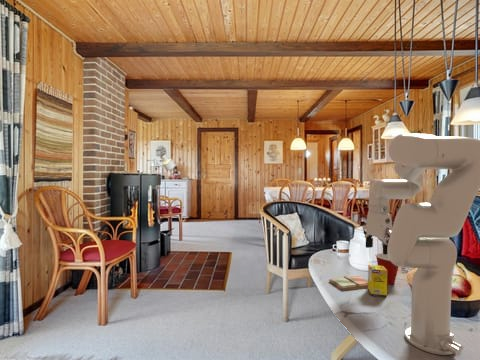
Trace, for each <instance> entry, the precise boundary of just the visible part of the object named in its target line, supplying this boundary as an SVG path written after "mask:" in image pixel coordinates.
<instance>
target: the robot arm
mask: <svg viewBox="0 0 480 360" xmlns="http://www.w3.org/2000/svg"><path fill="white" fill-rule="evenodd" d="M388 156H389V158H390V160H392V161H393V162H394V165H393V168H394V171H395V174H397V175H398V177H400V178H401V179H393V178H392V179H387V178H385V179H384V178H383V179H382V178H380V179H379V178H374V179H371V180H370V181H369V183H368V184H369V186H368V189H369V191H368V212H367V216H366V224H365V225H362V230H363V234H364V238H365V248H373V247H374V238H377V239H381V240H382V242H383V244H382V254H384V255H385V254H388V257H389V259H390V261H391V262H392V263H393V264H394V265H396V266H398V268H403V269H404V268H405V269H416V270H415V272H414V274H413V276H412V280H411V308H410V309H411V310H410V311H411V312H410V315H411V316H410V327H408V328H406V329H405V330H404V337H405V339H406V340H407V342H409V343H410V344H411V345H412V346H413V347H416V348H418V349H420V350H421V351H425V352H427V353H430V354H434V355H440V356H450V355H455V356H457V357H459V356H460V355H461V354H462V351H463V349H464V346H463V345H461V344H460V343H458V342H456V341H455V338H454V337H455V334H453V333H452V332H451V317H452V316H451V311H452V309H451V308H452V306H451V305H452V281H453V274H454V269H455V266H456V263H457V260H458V251H457V247H456V245H455V243H454V242H453V241H452V240H451V239H450V238H454V237H456V236H458V235H459V234H460V232H461V230H462V228H463V227H464V224H465V222H466V221H467V220H466V219H467V218H468V215H469V212H470V210H471V208H472V207H473V202H474V201H475V198H476V196H477V194H478V193H479V191H480V139H478V138H474V137H466V136H437V135H434V134H429V133H428V134H427V133H402V134H398V135H396V136H394V137H393V139H391V141H390V143H389V146H388ZM426 170H452V171H451V172H450V173H449V174H447V175H446V176H444V178H442V179H441V180H440V182H439V183H438V184H437V185H436V187H435V189H434V192H433V195H432V198H431V199H430V200H429V201H428V202H427V201H426V202H409V203H405V204H403V205H401V207H399V208H398V211H397V212H396V215H395V218H394V221H393V222H392V215H391V213H390V211H391V208H390V200H409V199H411V198H413V197H415V195H417V194H418V193H420V190H422V187H423V184H424V176H423V173H424V172H425V171H426ZM373 237H374V238H373Z"/></svg>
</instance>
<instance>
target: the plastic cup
mask: <svg viewBox="0 0 480 360" xmlns="http://www.w3.org/2000/svg"><path fill="white" fill-rule="evenodd" d="M375 257H376V263H377V265H378V266H384V267H385V269H386V270H387V285H394V284H395V282H396V279H397V275H398V270H399V267H398V266H396V265H394V264H393V263H392V262H391V261H390V259H389V257H388V254H385V255H384V254H383V253H375Z"/></svg>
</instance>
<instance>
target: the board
mask: <svg viewBox="0 0 480 360" xmlns="http://www.w3.org/2000/svg"><path fill="white" fill-rule="evenodd" d="M328 282H329V283H330V284H332V285H334V286H335V287H336V288H337V289H339V290H341V291H343V292H344V291H352V290H361V289H368V279H366V278H364V277H362V276H359V275H356V276H346V275H343V277H339V278H338V277H337V278H331V279H330V278H329V280H328Z"/></svg>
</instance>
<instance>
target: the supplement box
mask: <svg viewBox="0 0 480 360" xmlns="http://www.w3.org/2000/svg"><path fill="white" fill-rule="evenodd" d="M367 268H368V269H367V280H368V288H367V291H368V292H369V294H370V296H371V297H379V298H380V297H382V298H383V297H384V298H387V296H388V294H387V293H388V284H387V270H386V269H385V267H384V266H378V264H377V265H375V264H368V267H367Z"/></svg>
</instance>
